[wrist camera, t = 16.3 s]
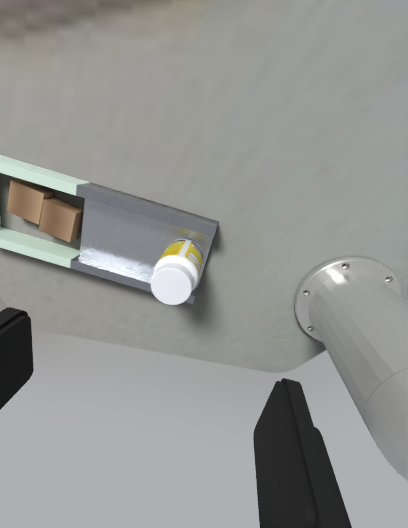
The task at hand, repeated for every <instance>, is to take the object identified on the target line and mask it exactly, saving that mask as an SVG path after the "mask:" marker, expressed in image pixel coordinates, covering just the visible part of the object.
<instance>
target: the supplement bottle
mask: <svg viewBox="0 0 408 528" xmlns="http://www.w3.org/2000/svg"><path fill="white" fill-rule="evenodd" d="M202 262H203V254H202V251H201V249H200V247H199V246H198V245H197V244H196V243H195V242H193V241H191V240H188V239H178V240H175V241H173V242H172V243H171V244H170V245H169V246H168V247H167V249H166V250H165V252H164V253H163V254H162V256H161V257H160V259H159V260H158V262H157V263H156V265H155V267H154V271H153V277H152V280H151V290H152V292H153V294H154V296H155V297H156V298H157V299H158V300H159V301H161V302H163V303H165V304H168V305H177V304H181V303H183V302H184V301H186V300H187V299H188V298H189V296H190V294H191V292H192V291H193V290H194V289H195V287H196V285H197V283H198V280H199V275H200V271H201V266H202Z"/></svg>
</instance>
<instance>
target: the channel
mask: <svg viewBox="0 0 408 528" xmlns="http://www.w3.org/2000/svg"><path fill="white" fill-rule="evenodd" d="M76 196H79V197H82V198H85V203H84V214H83V224H82V235H81V246H80V254H79V255H78V256H76V257H74V258H73V259H71V264H70V268H71V269H74V270H78V271H81V272H85V273H88V274H91V275H95V276H98V277H101V278H105V279H108V280H112V281H115V282H118V283H122V284H125V285H128V286H132V287H135V288H139V289H142V290H145V291H149V292H152V290H151V280H152V277H153V271H154V267H155V265H156V263H157V262H158V260H159V259H160V257H161V256H162V254H163V253H164V252H165V250H166V249H167V247H168V246H169V245H170V244H171V243H172V242H173V241H175V240H178V239H188V240H191V241H193V242H195V243H196V244H197V245H198V246H199V247H200V249H201V251H202V254H203V262H202V266H201V271H200V275H199V280H198V283H197V285H196V287H195V289H194V290H193V291H192V292H191V294H190V296H189V298H188V299H187V300H186V301H184V302H186V303H189V304H193V303H194V300H195V296H196V292H197V288H198V285H199V282H200V279H201V276H202V272H203V269H204V266H205V263H206V260H207V256H208V253H209V250H210V247H211V244H212V240H213V237H214V236H215V233H216V229H217V225H218V221H215V220H212V219H208V218H205V217H202V216H198V215H195V214H192V213H189V212H185V211H182V210H179V209H175V208H172V207H169V206H166V205H162V204H159V203H156V202H153V201H149V200H146V199H143V198H139V197H136V196H133V195H130V194H126V193H123V192H120V191H116V190H113V189H110V188H107V187H103V186H100V185H97V184H93V183H85V184H78V185H77V187H76ZM152 293H153V292H152Z"/></svg>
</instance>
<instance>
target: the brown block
mask: <svg viewBox="0 0 408 528" xmlns="http://www.w3.org/2000/svg"><path fill="white" fill-rule="evenodd" d="M83 214H84V210H83V209H80V208H78V207H76V206H73V205H71V204H69V203H66V202H64V201H61V200H59V199H57V198H54V197H53V198H48V199H43V206H42V212H41V219H40V225H39V230H40V231H43V232H45V233H48V234H50V235H52V236H55V237H57V238H60V239H62V240H65V241H67V242H69V243H70V242H72V241H74V240H76V239H78V237H79V233H80V228H81V224H82V219H83Z"/></svg>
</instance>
